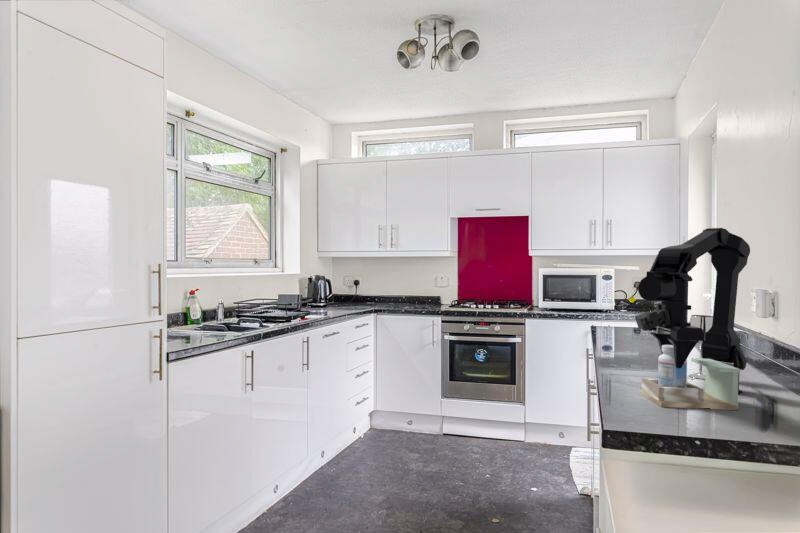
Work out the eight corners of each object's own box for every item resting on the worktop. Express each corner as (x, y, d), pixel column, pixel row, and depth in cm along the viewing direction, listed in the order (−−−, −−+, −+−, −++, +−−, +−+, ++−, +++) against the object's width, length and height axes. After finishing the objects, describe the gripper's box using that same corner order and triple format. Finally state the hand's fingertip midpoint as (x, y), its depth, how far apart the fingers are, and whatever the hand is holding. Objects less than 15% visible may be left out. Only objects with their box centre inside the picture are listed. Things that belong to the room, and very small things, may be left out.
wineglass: (686, 378, 154) (688, 316, 153) (683, 373, 161) (685, 313, 161) (719, 381, 151) (721, 318, 150) (714, 376, 158) (716, 315, 158)
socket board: (708, 395, 133) (709, 379, 133) (738, 410, 120) (739, 392, 120) (639, 392, 134) (639, 377, 134) (661, 406, 121) (661, 389, 121)
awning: (708, 395, 133) (709, 358, 133) (738, 410, 120) (739, 369, 120) (690, 395, 133) (691, 358, 133) (718, 409, 120) (719, 368, 120)
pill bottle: (681, 390, 130) (682, 344, 130) (689, 397, 124) (690, 348, 124) (654, 389, 131) (655, 343, 131) (661, 395, 125) (662, 347, 125)
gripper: (625, 296, 137) (623, 357, 137) (656, 302, 118) (654, 372, 118) (670, 297, 136) (668, 358, 136) (707, 303, 118) (705, 374, 118)
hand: (672, 365), depth 127 cm, fingers closed on pill bottle, 6 cm apart
